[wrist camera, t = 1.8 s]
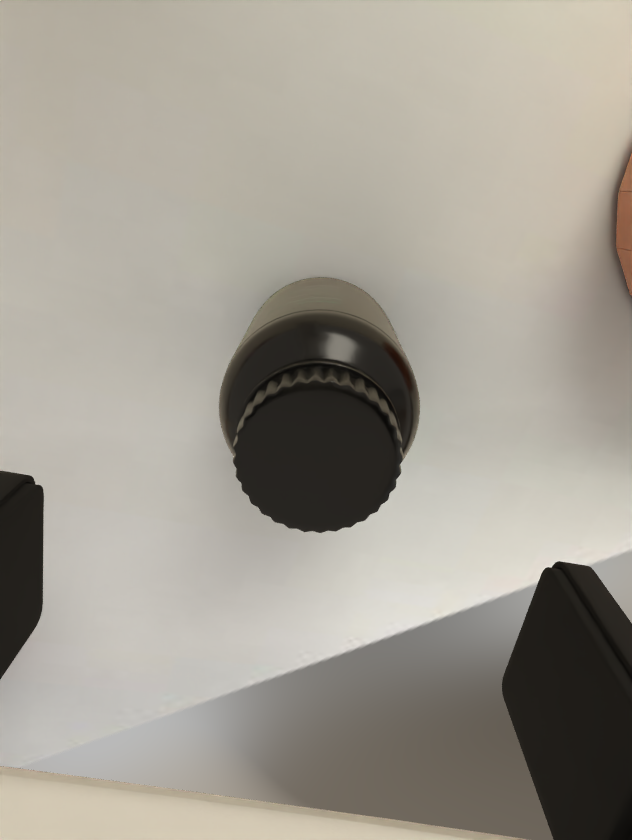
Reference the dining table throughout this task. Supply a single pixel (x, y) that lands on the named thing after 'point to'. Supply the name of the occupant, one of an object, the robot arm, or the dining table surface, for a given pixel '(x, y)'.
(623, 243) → the bowl
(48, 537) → the dining table surface
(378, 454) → the supplement bottle
